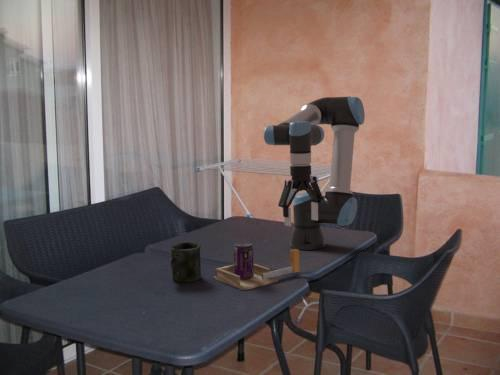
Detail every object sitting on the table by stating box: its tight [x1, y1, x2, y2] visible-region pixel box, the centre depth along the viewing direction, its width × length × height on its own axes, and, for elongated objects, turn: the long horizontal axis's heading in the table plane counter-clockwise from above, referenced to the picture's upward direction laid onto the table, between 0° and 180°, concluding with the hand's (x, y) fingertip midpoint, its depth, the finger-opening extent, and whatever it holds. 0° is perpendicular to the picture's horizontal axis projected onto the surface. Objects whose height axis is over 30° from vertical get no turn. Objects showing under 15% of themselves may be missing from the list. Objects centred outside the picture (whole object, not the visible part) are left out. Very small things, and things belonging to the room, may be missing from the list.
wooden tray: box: [213, 263, 279, 291], centre depth 212 cm, size 15×18×4 cm
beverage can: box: [232, 241, 255, 279], centre depth 212 cm, size 7×7×12 cm
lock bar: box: [262, 248, 300, 280], centre depth 213 cm, size 16×2×8 cm, turn 127°
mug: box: [169, 241, 202, 283], centre depth 214 cm, size 11×15×12 cm
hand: (301, 222), depth 219 cm, fingers open, 13 cm apart
